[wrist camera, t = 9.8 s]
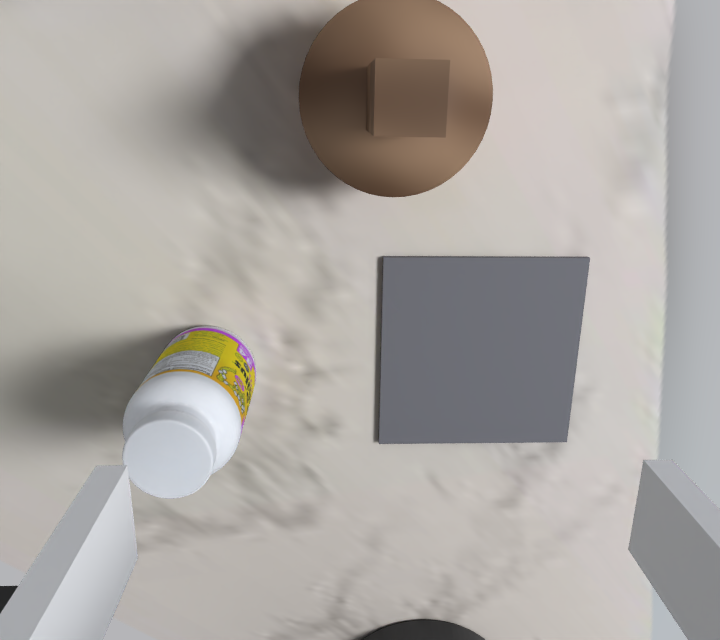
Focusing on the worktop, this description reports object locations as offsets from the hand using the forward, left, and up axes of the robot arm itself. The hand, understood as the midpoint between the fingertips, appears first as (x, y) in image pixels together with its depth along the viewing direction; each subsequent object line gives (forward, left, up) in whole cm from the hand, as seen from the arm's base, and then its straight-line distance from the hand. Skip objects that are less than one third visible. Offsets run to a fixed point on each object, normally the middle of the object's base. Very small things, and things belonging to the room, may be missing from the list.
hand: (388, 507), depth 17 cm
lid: (+10, -2, -24) cm, 26 cm away
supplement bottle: (-8, +10, -29) cm, 32 cm away
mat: (-7, -9, -29) cm, 31 cm away
